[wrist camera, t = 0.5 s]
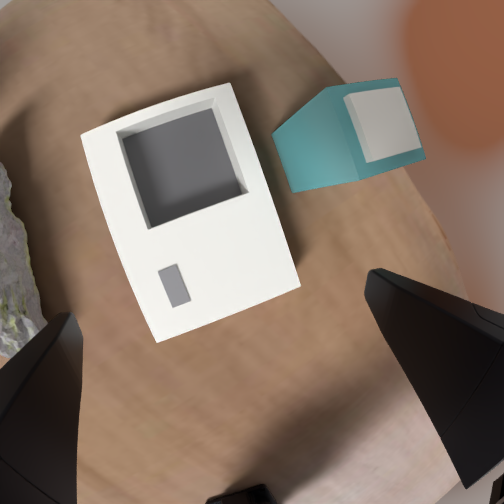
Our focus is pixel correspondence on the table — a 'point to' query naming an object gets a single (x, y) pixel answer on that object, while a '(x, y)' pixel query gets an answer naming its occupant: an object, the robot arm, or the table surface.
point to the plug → (348, 135)
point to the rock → (15, 280)
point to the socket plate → (190, 211)
